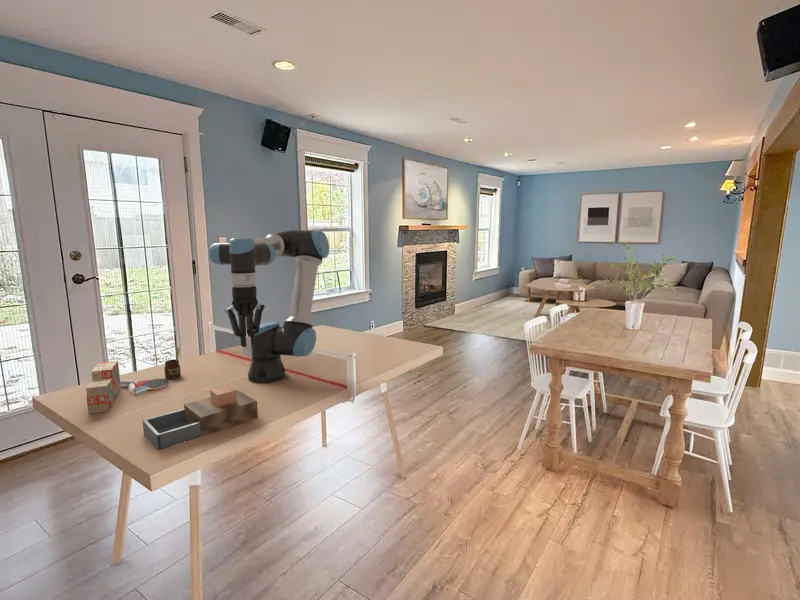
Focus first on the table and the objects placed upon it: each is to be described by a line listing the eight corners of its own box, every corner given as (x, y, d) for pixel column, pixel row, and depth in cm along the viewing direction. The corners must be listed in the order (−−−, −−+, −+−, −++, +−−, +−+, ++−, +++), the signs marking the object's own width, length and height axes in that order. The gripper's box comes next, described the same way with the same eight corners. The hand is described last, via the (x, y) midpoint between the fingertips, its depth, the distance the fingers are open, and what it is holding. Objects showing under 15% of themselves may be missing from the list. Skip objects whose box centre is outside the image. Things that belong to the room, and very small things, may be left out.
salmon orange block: (229, 396, 146) (228, 385, 145) (236, 401, 141) (236, 390, 141) (210, 401, 141) (210, 390, 141) (218, 407, 137) (217, 395, 137)
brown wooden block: (239, 406, 153) (238, 390, 152) (258, 418, 143) (257, 401, 142) (185, 421, 140) (183, 404, 139) (202, 436, 130) (200, 417, 129)
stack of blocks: (110, 411, 148) (106, 377, 146) (88, 414, 146) (83, 379, 144) (121, 390, 168) (118, 359, 166) (102, 392, 165) (98, 361, 163)
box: (184, 422, 140) (183, 408, 139) (201, 436, 130) (200, 422, 130) (143, 433, 132) (142, 420, 131) (158, 450, 122) (157, 435, 121)
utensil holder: (162, 377, 182) (159, 350, 180) (176, 373, 187) (174, 346, 185) (169, 380, 179) (167, 352, 177) (184, 376, 184) (182, 348, 182)
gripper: (229, 288, 134) (233, 361, 138) (268, 285, 144) (271, 353, 147) (219, 286, 140) (223, 357, 143) (257, 283, 149) (260, 349, 152)
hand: (247, 355), depth 145 cm, fingers closed
